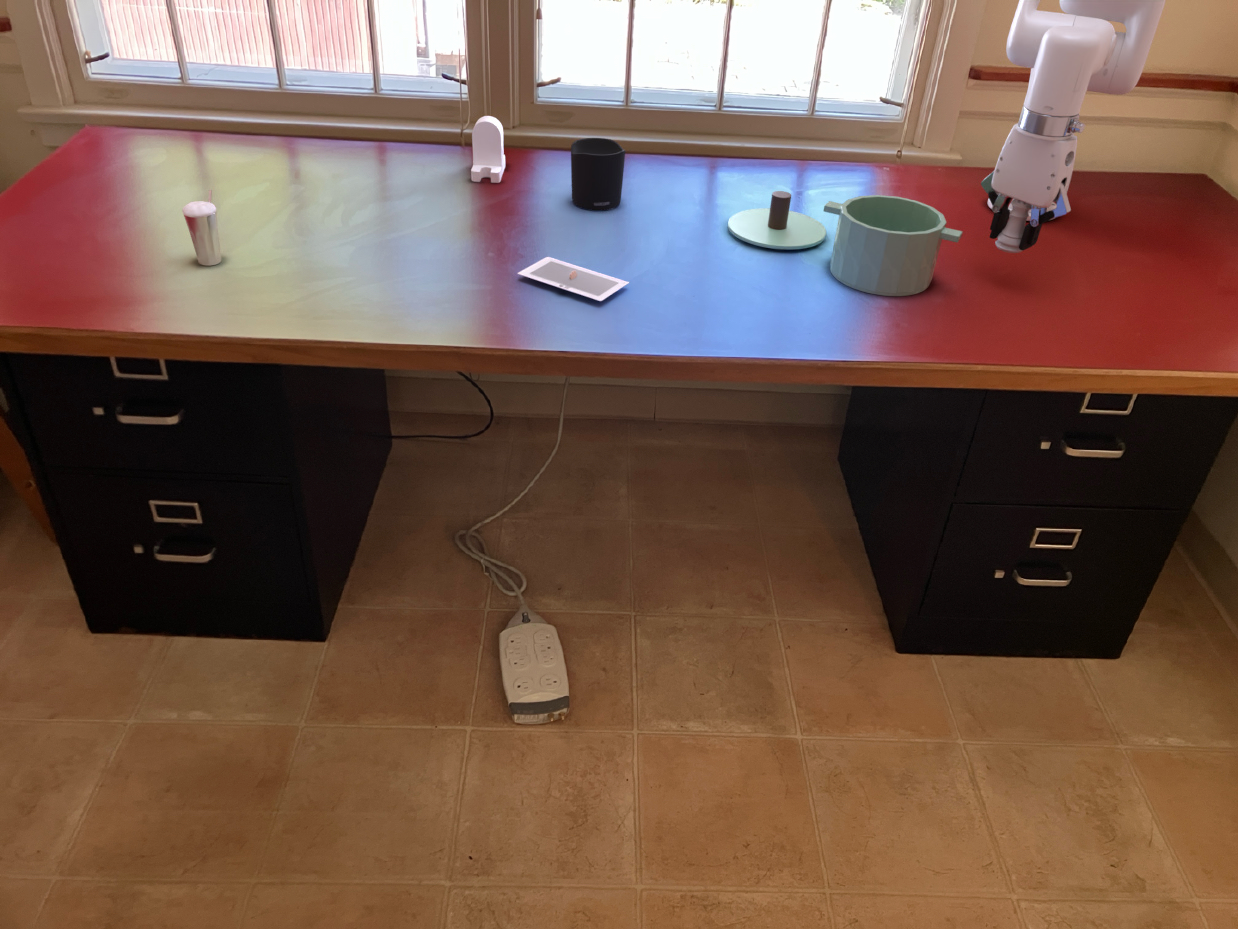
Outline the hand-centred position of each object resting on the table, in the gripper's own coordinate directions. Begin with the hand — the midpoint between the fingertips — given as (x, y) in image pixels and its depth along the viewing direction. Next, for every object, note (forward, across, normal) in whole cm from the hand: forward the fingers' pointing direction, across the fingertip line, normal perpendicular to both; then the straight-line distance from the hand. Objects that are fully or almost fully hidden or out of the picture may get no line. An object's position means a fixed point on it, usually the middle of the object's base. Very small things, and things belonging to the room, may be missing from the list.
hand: (1011, 240), depth 149 cm
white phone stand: (+7, +85, +38) cm, 93 cm away
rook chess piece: (+1, 0, 0) cm, 1 cm away
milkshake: (+6, +76, +95) cm, 122 cm away
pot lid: (+7, +34, +14) cm, 38 cm away
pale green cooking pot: (+7, +13, +13) cm, 20 cm away
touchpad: (+6, +38, +55) cm, 68 cm away
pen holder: (+7, +62, +31) cm, 70 cm away
